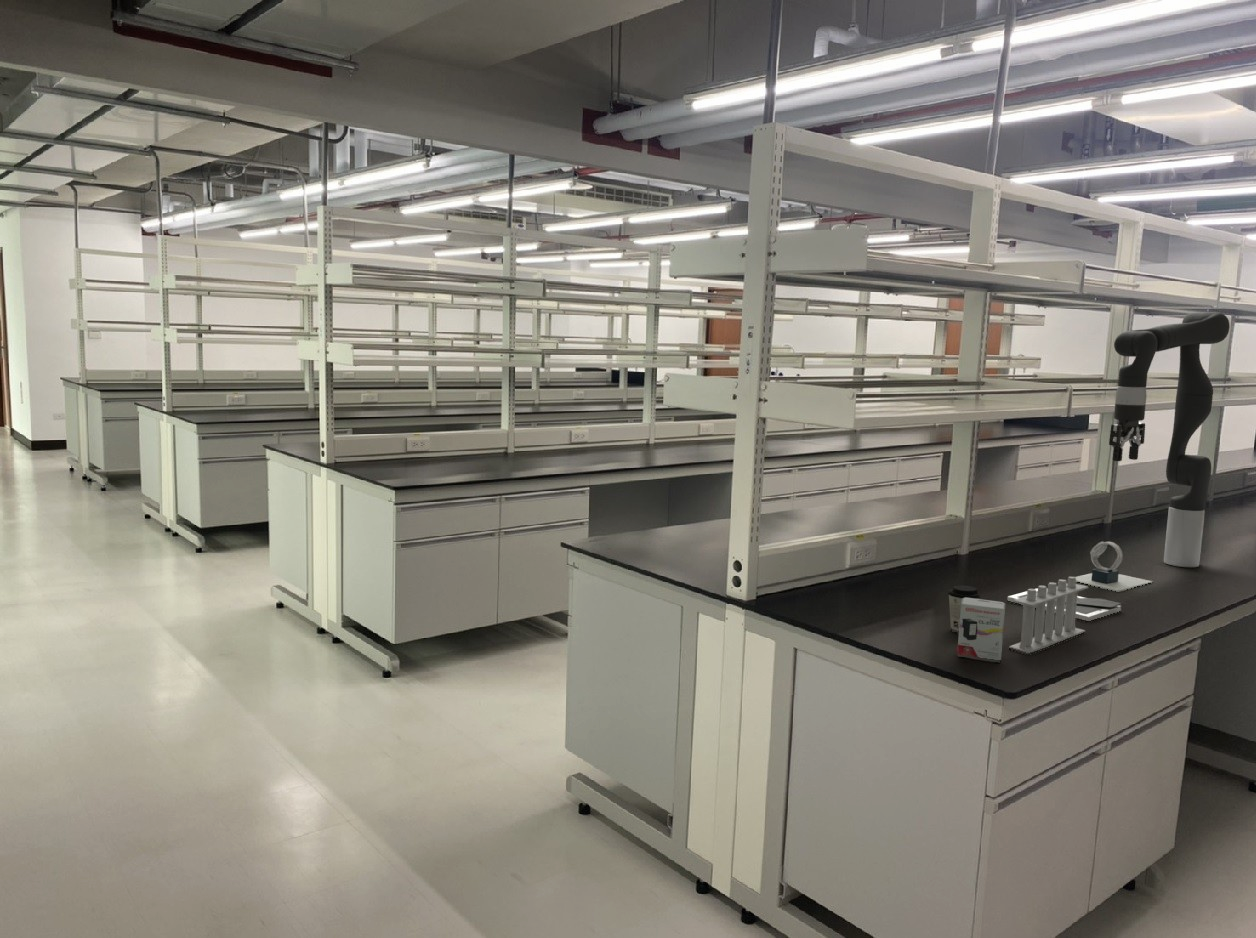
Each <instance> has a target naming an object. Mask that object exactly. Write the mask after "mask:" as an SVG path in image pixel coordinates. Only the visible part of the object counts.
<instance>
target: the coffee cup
mask: <svg viewBox="0 0 1256 938" xmlns="http://www.w3.org/2000/svg"><path fill="white" fill-rule="evenodd" d="M947 594H948V603H949V617H950V618H949V619H950V620H949V621H950V629H951V628H952V629H954V630H957V631H959V625H960V613H961V601H962V598H974V599H980V598H981V594H980V592H978V589H977V588H976V587H974V586H968V585H962V584H961V585H955V586H953V588H951V589H948V591H947Z"/></svg>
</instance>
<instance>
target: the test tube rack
mask: <svg viewBox="0 0 1256 938" xmlns="http://www.w3.org/2000/svg"><path fill="white" fill-rule="evenodd" d="M1067 577H1068V578H1067V579H1061V578H1060V579H1058V582H1053V581H1052V582H1051V581H1050V582H1048V584H1047V586H1046V585H1038V587H1037V588H1038V593H1036V590H1035V589H1036V588H1028V589H1027V590H1026V591H1027V596H1025V597H1021V598H1018V599H1015V600H1013V602H1016V603H1020V604H1023V606H1022V610H1023V611H1022V621H1021V632H1020V633H1021V634H1020V635H1021V636H1020V642H1017V643H1015V644H1014V643H1013V644H1012V645H1009V647H1008V649H1009V648H1013V649H1016V650H1020V651H1023V652H1026V653H1030V652H1034V651H1037V650H1040V649H1042V648H1045V647H1048V646H1050V645H1053V644H1055V643H1057V642H1060V641H1063V640H1065V639H1067V638H1070V637H1073V636H1075V635H1078V634H1081V633H1083V632H1085V633H1086V630H1085V629H1082V628H1078V627H1076V619H1075V616H1076V605H1077V596H1078V592H1081V591H1084V590H1086V589H1087V590H1088V589H1089V585H1085V584H1080V583H1077V582H1076V581H1077V580H1076V577H1077V576H1067ZM1065 597H1066V607H1065ZM1056 599H1057V602H1056V614H1055V601H1056ZM1046 602H1047V606H1046V611H1045V603H1046ZM1035 605H1037V607H1036V609H1035ZM1064 609H1065V616H1064ZM1053 646H1054V645H1053ZM1048 648H1049V647H1048ZM1040 651H1041V650H1040Z"/></svg>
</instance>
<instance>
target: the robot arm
mask: <svg viewBox="0 0 1256 938" xmlns="http://www.w3.org/2000/svg"><path fill="white" fill-rule="evenodd" d="M1229 333H1230V320H1229V318H1228V317H1227V315H1226V314H1224V313H1221V312H1218V311H1217V312H1216V311H1211V312H1210V311H1205V312H1203V311H1202V312H1190V313H1187V314H1186V315H1185V316H1184V317H1183V318H1182V321H1181V322H1178V323H1171V324H1163V325H1162V324H1161V325H1159V326H1153V327H1150V328H1146V329H1145V328H1144V329H1134V330H1133V329H1132V330H1126V331H1123V332H1120V334H1118V335H1117V336H1116V338H1115V340H1114V343H1113V348H1114V351H1115V352H1116V354H1118V355H1119V356H1122V357H1127V358H1128V357H1133V358H1134V357H1135V358H1134V360H1133V362H1132V363H1131V364H1127V365H1122V366H1121V367H1120V368H1119V370H1118V377H1117V378H1118V381H1117V387H1116V389H1117V390H1116V392H1115V400H1114V401H1115V403H1114V411H1113V412H1114V413H1113V414H1114V415H1113V419H1115V420H1118V424H1116V423H1112V424H1111V425H1110V432H1109V440H1108V441H1109V442H1108V445H1109V446H1111V447H1112V448H1113V451H1112V461H1113V462H1122V461H1123V452H1124V448H1123V447H1124V446H1125V444H1126V443H1127V442H1129V450H1128V459H1129V460H1133V461H1135V460H1138V459H1139V458H1138V457H1139V448H1140V447H1141V445H1144V444H1145V437H1146V423H1145V422H1142V421H1144V420H1145V417H1146V416H1145V414H1146V413H1145V412H1146V406H1147V405H1146V403H1147V383H1148V373H1149V370H1150V368H1151V365H1152V362H1153V360H1154V357H1155V354H1156V352H1157V353H1158V352H1163V351H1167V350H1171V349H1175V348H1179V371H1178V380H1177V388H1176V396H1175V402H1174V403H1175V405H1174V418H1173V419H1174V420H1173V429H1172V435H1171V440H1170V446H1169V451H1168V454H1167V460H1166V467H1165V468H1166V469H1165V474H1166V475H1165V478H1166V480H1167V482H1169V484H1172V485H1179V486H1187V487H1190V491H1189V492H1187V493H1185V494H1180V495H1175V496H1172V497H1170V499H1169V503H1168V514H1167V522H1166V534H1165V545H1164V554H1163V563H1164V564H1167V565H1170V566H1174V567H1182V568H1197V567H1199V566H1200V559H1201V551H1202V543H1203V542H1202V541H1203V531H1204V523H1205V513H1206V511H1205V510H1206V504H1207V500H1208V495H1209V494H1208V493H1209V487H1210V481H1211V477H1212V476H1211V475H1212V462H1211V460H1210V458H1209V457H1207V456H1204V455H1193V454H1186V450H1187V446H1188V443H1189V442H1190V439H1191V437H1192V436H1194V433H1195V432H1196V431H1197V430H1198V429H1199V428H1200V426H1201V425H1202V424H1204V422H1205V421H1206V419H1208V417H1209V415H1210V414H1211V412H1212V407H1213V400H1214V399H1213V398H1214V396H1213V395H1214V387H1213V384H1212V382H1211V380H1210V378H1209V377H1208V374H1207V372H1206V371H1205V369H1204V367H1203V365H1202V363H1201V358H1200V357H1201V356H1200V347H1201V346H1200V345H1213V344H1218V343H1220V342H1223V341H1224V340H1225V339H1226V338H1227V337H1228V334H1229Z"/></svg>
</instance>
